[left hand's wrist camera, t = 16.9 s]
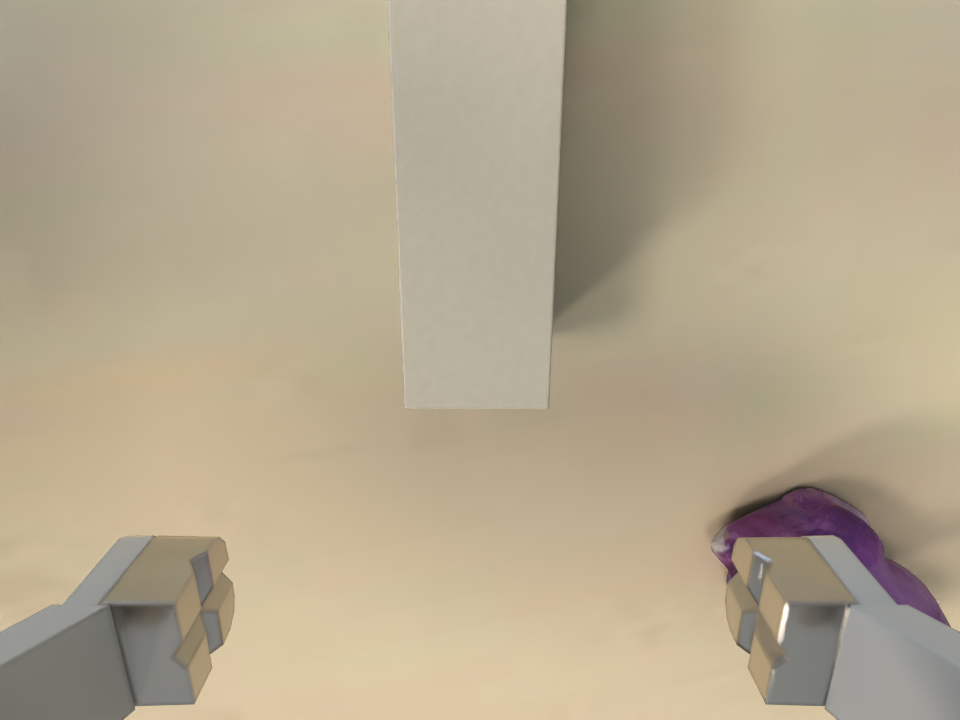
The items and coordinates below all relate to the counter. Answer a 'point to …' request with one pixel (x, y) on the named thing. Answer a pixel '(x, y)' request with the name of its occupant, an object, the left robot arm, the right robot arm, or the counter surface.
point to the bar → (477, 197)
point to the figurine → (828, 517)
